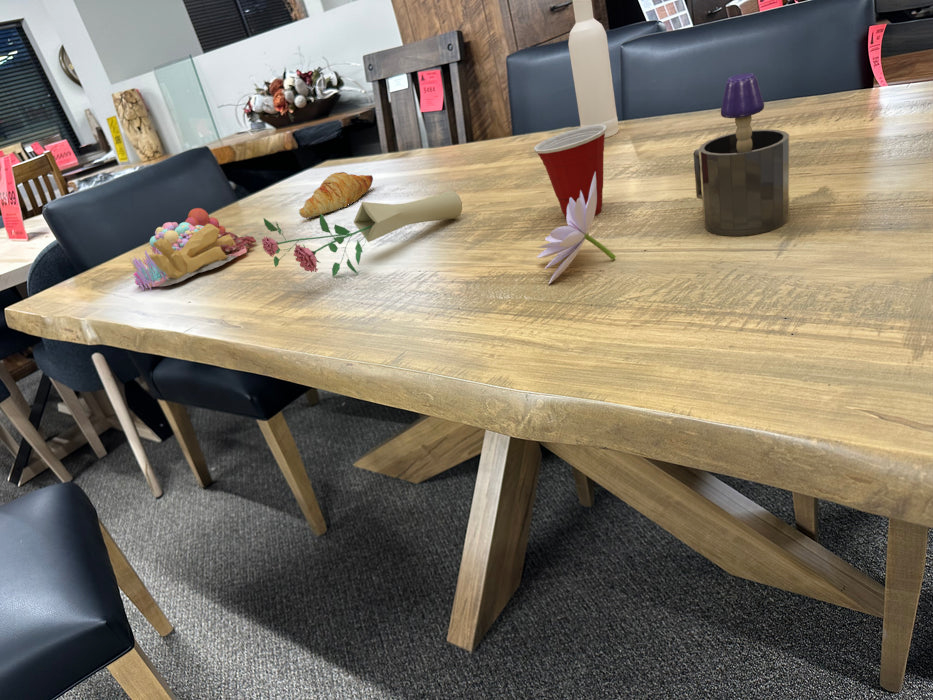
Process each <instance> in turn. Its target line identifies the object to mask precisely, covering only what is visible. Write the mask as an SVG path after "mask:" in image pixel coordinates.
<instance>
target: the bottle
mask: <svg viewBox="0 0 933 700" xmlns="http://www.w3.org/2000/svg"><path fill="white" fill-rule="evenodd" d="M572 7H573V13H574V20H575V23H574V24H573V27H572V28H571V30H570V32H569V36H568V51H569V58H570V63H571V71H572V77H573V84H574V89H575V90H574V91H575V97H576V103H577V104H576V105H577V110H578V117H579V123H580V125H579V126H580V127H579V128H582V127H587V126H592V125H604V126H607V127H606V132H605V136H604V139H607V138H610V137H613V136H615V135H617V134H618V132H619V130H620V129H619V120H618V115H617V114H618V113H617V107H616V98H615V92H614V84H613V77H612V76H613V75H612V68H611V67H612V66H611V59H610V52H609V51H610V50H609V44H608V43H609V42H608V36H607V32H606V30H605V28H604V25H603V24H602V23H601V22H599V20H597V19H595V18H594V11H593V3H592V0H572Z"/></svg>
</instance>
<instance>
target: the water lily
mask: <svg viewBox="0 0 933 700" xmlns="http://www.w3.org/2000/svg"><path fill="white" fill-rule="evenodd" d="M596 204H597V190H596V172H595V173H594V176H593V180H592V183H591V187H590V192H589V198H588V201H587V204H586V205H585V200H584V197H583V194H582V192H581V190H580V197H579V198H578V199H577V201H576V202H575V201H574V200H573V199H572V198H571V197H570V199H569V204H568V206H567V216H566V217H565V219H566V224H567V225H563V226H559V227H556V228H554V229H553V230H552V231H550V233H549V235H547V236H546V237H545V238H544V241H546V242H548V243H546V244H542V245H540V246H537V248H538V249H544V250H543V251H541V252H540V253H539V254H537V256H536V259H542V258H547V257H551V256H554V255H556V256H555V257H554V258H553V259H552V260H551V261H549V262H548V264H547V265H545V267H544V270H545V269H548V268H550V267H553V266H554V265H556V264H557V263H559V262H561V261H562V260H563V259H564V260H563V261H562V262H561V263H560V264H559V266H558V267H557V268H556V269H555V271H554V273H553V274H552V276H551V278H550V280H549V282H548V285H551V284H552V283H553V282H554V281H555V280H556V279H557V278H559V277H560V276H561V275H562V273H563V272H564V271H566V269H567V268H568V267H569V266H570V265H571V263H572V262H573V261H574V259H575V258H576V256H577V255H578V254H579V252H580V250H581V248H582V246H583V244H584V242H585V240H587V241H588V242H590V243H591V244H592V245H594V246H595V247H596V248H598V249H599V250H600V251H601V252H603V253H604V255H606V256H607V257H608V258H609V259H611V260H612V261H614V260H615V259H616V258H617V255H615V254H614V253H613V252H612V251H611V250H609V249H608V248H607V247H606V246H604V244H602V243H601V242H599V241H598V240H597V239H595V238H593V236H590V235H589V232H590V230H591V227H592V225H593V222H594V218H595V216H596V215H595V211H596Z"/></svg>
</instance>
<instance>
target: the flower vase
mask: <svg viewBox="0 0 933 700" xmlns="http://www.w3.org/2000/svg"><path fill="white" fill-rule="evenodd" d="M462 211H463V201H462V199H461V196H460V195H459V194H458V193H457V192H456V191H455V190H447V191H444V192H441V193H438V194H435V195H431V196H428V197H425V198H421V199H417V200H414V201H410V202H404V203H396V204H395V203H394V204H393V203H392V204H391V203H379V202H367V201H362V202H361V204H360V206H359V208H358V211H357V213H356V215H355V218H354V221H353V223H354V225H355V226H356V228H357V230H356V231H354V232H351V231H350V230H349V229H347V228H346V227H343V226H341V225H338V224H334V226H333V228H334V233H335V234H332V233H331V230H330V227H329V224H328V222H327V220H326V218H325V216H324V214H322V213H321V215H319V226H320V229H321V231H322V232H325V233H328V234H330V235H324V236H315V237H305V238H295V239H289V240H287V239H286V237H285V235H284V231H283V229H281V228H280V226H279V223H278V222H275V225H276V226H275V225H274V224H273V223H272V222H271V221H269V220H268V219H266V218H264V217H263V223H264V226H265V227H266V229H267V230H269V232H278V234H279V235H281V236H282V237H283V238H284V240H285V241H280V242H278V241H276V239H273V238H271V237H270V236H263V238H261V241H262V242H261V243H262V248H263V250H264V252H265V253H266V255H267V254H268V255H269V257H271V258H273V265H274V267H275V268H276V267H278V266H279V263H280V260H281V259H282V258H283V257H285V254H283V255H282V256H281V257H280V258H279V257H278V256H277V255H276V254H280V251H281V248H280V247H279V245H282V244H287V243H292V242H295V243H294V244H293V245H292V246H291V247H290V248H286V249H284V251H290V250H291V249H293V248H294V246H295V248H294V250H293V252H294V253H293V257H295V261H296V262H298V263H299V267H301V268H303V270H304V271H306V272H311V273H318V270H319V268H317V266H318V265H317V263H319V264H321V261H319V259H318V258H317V257H316V254H317V252H319V251H321V250H322V249H324V248H327V247H328V249H329V250H330V251H331V252H332V253H335V254H336V253H337V251H338V249H339V247H338V246H337V244H338V245H342V244H343V242H344V241H345V239H346V238H348V240H347V243H346V246H344V247H342V249H344V251H343V254H342V257H341V261H340V263H338V262H334V263H333V265H332V268H331V274H332V277H335V276H336V275H337V274H338V272H339V271H340V270H341V269H340V268H341V264H342V262H343V259H344V256H345V253H347V251H346V249H347V246H348V243H349V242H350V240H351V238H352V237H353V235H356V234H358V233H361V235H362V236H363V238H361V239H360V240H359V239H357V241H356V242H357V243H356V245H355V247H354V249H355V251H356V252H355V261H356V262H357V263H356V264H357V265H360V261H361V257H362V256H361V255H362V253H363V247H364V246H365V245H366V242H367V243H370V242H372V241H375V240H377V239H379V238H381V237H383V236H385V235H388V234H390V233H392V232H394V231H397V230H399V229H401V228H403V227H405V226H408V225H413V224H420V223H427V222H435V221H436V222H437V221H446V220H456V219H457V218H459V217H460V216H461V214H462ZM455 218H456V219H455ZM325 238H332V240H333V241H330V242H328V243H326V244H324V245H322V246H320V247H318V248H316V249H315V250H311V249H310V248H309V247H306V246H305V244H302V245H303V246H301V244H297V243H298V242H300V241H307V240H308V241H309V240H318V239H325ZM363 239H365V243H364V244H363V245H361V243H360V242H361V241H362V240H363ZM336 243H337V244H336ZM346 256H347V260H346V265H347V267H348V268H349V269H350V270H351V271H352V272H353V273H355V274H357V275H359V273H358V270H356V268H355V267H354V265H353V264H352V263H351V260H350V259H349V256H348V254H346Z"/></svg>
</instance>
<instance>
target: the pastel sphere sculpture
mask: <svg viewBox="0 0 933 700" xmlns="http://www.w3.org/2000/svg"><path fill="white" fill-rule="evenodd" d="M256 243H257V240H256V238H255V237H254V236H250V235H246V236H242V235H238V234H237V235H236V234H235V233H233V232H232V231H231V232H230V231H226V228H225V226H223V225H220V221H219V220H218V219H217V218H216V217H213V216H211V217H210V216H209V213H208V212H207V211H206V210H205V209H203V208H201V207H195V208H192V209H191V210H190V211H189V212H188V215H187V218H186V219H185V221H183V222H181V223H179V224H178V222H177V221H173V222H172V221H171V222H170V221H167V222H165V223H163V225H162V226H158V227H157V228H156V229H155V231H154V235H153V236H151V237H150V239H149V245H150V246H149V249H150V250H152V252H151V254H148V252H147V250H146V249H145V250H144V255H145V256H144V257H145V258H144V257H143V258H142V259H143V261H142V259H140V258H139V257H136V256H133V258H130V257H129V262H130V264H131V265H132V267H133V269H134V270H135V272H134V273H133V276H134V277H133V278H134V280H135V282H134V283H135V285H136V286H138V288H141V290H142V291H144V290H145V288H146V289H149V290H150V291H152V288H155V287H159V288H160V287H166V286H172V285H173V284H178V283H181V282H183V281H185V280H187V279H188V278H191V277H192V276H193V277H194V276H195V275H196V274H199V273H203V272H204V273H205V272H206V271H210V270H213V269H216V268H218V267H221V266H223V265H225V264H226V263H228V262H231V261H232V260H234V259H235V258H238V257H239V256H242V255H244V254H246V253H248V249H252V248H255V247H256V245H254V244H256Z"/></svg>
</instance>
